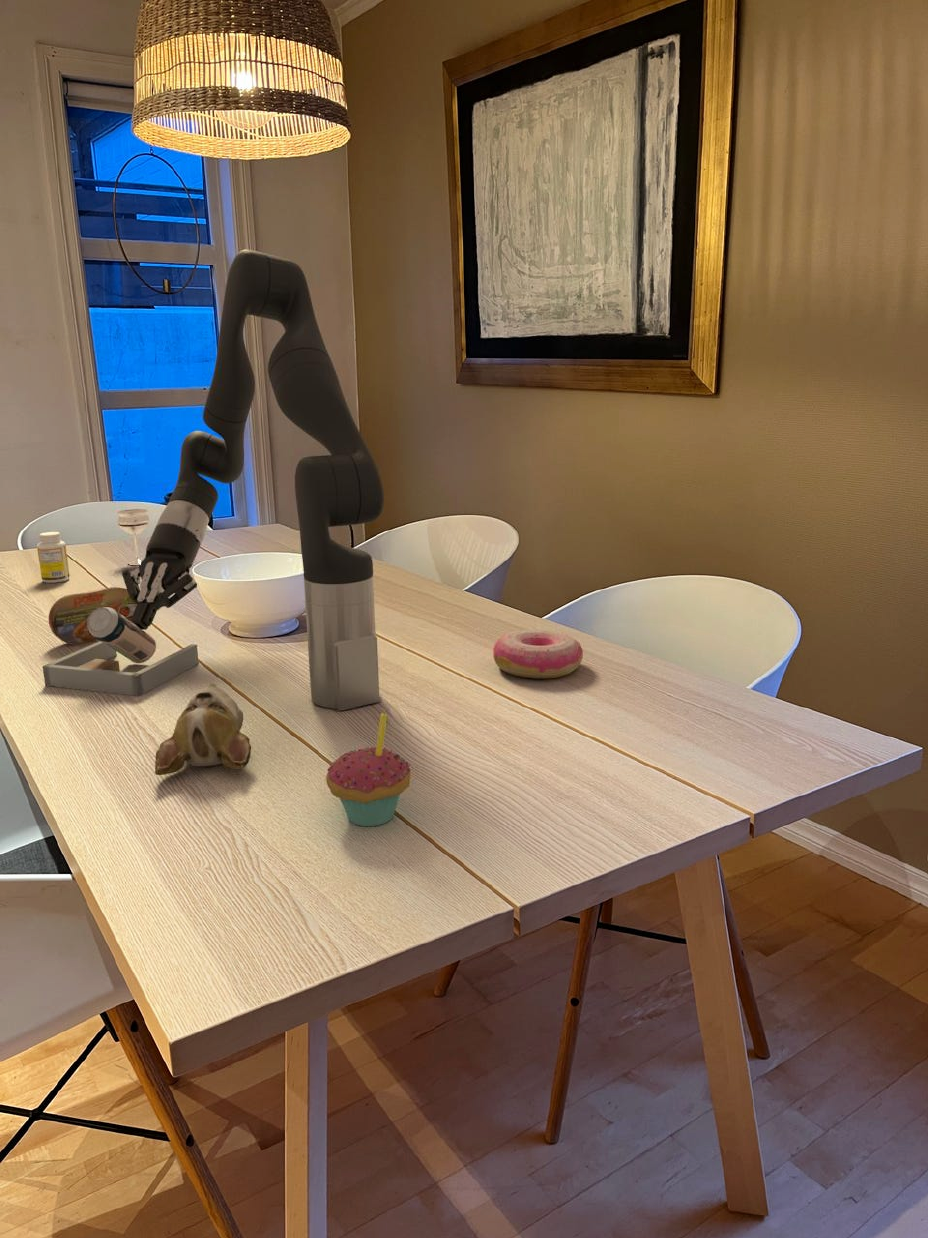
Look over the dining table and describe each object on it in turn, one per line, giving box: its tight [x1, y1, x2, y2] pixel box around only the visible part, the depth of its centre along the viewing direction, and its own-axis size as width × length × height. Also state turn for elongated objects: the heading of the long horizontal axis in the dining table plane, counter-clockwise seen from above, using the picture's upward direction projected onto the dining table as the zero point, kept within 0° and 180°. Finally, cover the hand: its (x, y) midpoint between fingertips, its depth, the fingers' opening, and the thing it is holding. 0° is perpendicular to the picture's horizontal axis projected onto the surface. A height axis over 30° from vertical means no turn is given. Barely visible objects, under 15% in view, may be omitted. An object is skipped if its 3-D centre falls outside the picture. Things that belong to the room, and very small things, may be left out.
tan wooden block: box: [79, 659, 120, 671], centre depth 138 cm, size 4×4×3 cm
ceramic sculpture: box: [154, 682, 252, 776], centre depth 110 cm, size 11×9×15 cm
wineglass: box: [117, 508, 150, 564], centre depth 216 cm, size 7×7×12 cm
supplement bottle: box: [36, 531, 71, 584], centre depth 200 cm, size 6×6×10 cm
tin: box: [48, 586, 137, 646], centre depth 159 cm, size 15×3×8 cm, turn 129°
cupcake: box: [325, 706, 411, 827], centre depth 96 cm, size 9×8×12 cm
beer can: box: [87, 607, 157, 664], centre depth 142 cm, size 5×5×12 cm
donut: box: [492, 629, 584, 679], centre depth 141 cm, size 14×13×5 cm
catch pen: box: [42, 641, 200, 697], centre depth 141 cm, size 15×16×3 cm
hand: (138, 626), depth 145 cm, fingers closed
